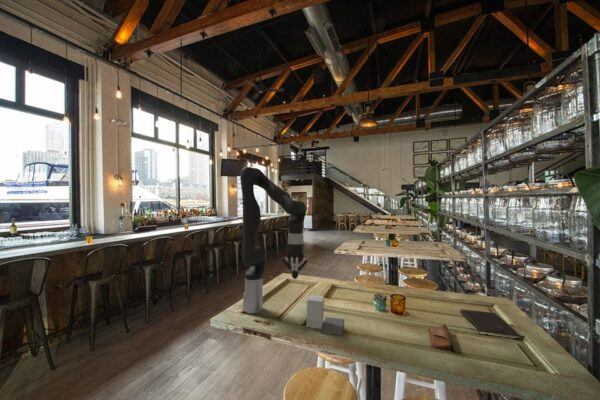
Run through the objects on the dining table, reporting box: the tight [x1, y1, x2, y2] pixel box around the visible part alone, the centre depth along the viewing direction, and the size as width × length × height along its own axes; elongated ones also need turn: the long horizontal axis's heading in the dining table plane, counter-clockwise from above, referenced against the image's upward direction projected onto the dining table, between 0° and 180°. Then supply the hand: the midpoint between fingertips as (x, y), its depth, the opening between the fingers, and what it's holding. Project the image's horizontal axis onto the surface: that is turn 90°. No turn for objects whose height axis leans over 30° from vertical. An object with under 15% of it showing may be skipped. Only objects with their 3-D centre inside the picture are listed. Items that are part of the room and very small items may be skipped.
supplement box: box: [306, 294, 325, 330], centre depth 122 cm, size 7×7×13 cm
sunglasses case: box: [427, 324, 455, 353], centre depth 111 cm, size 18×7×7 cm
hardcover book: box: [459, 308, 521, 338], centre depth 125 cm, size 16×23×2 cm
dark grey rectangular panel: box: [321, 316, 345, 336], centre depth 121 cm, size 9×15×1 cm, turn 169°
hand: (295, 278), depth 124 cm, fingers closed
